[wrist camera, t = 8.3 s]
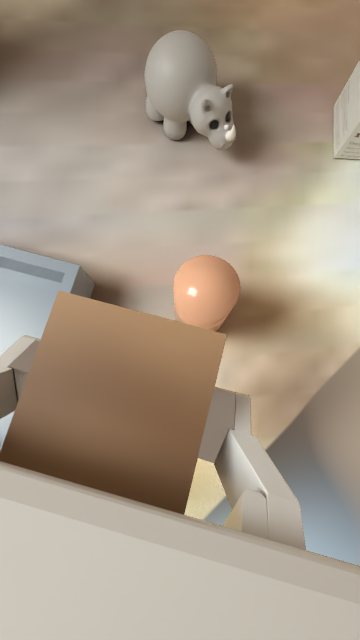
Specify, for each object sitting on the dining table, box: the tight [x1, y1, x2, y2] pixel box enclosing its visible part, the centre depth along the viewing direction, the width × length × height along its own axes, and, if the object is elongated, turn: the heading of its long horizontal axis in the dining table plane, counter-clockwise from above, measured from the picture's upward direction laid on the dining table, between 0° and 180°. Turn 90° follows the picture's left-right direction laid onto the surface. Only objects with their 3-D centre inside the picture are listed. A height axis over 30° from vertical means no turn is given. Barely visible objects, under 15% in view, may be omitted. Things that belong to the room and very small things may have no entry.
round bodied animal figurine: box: [145, 30, 236, 150], centre depth 31 cm, size 7×12×8 cm, turn 36°
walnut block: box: [0, 290, 227, 515], centre depth 12 cm, size 5×5×8 cm
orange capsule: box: [174, 255, 240, 332], centre depth 27 cm, size 5×5×8 cm
